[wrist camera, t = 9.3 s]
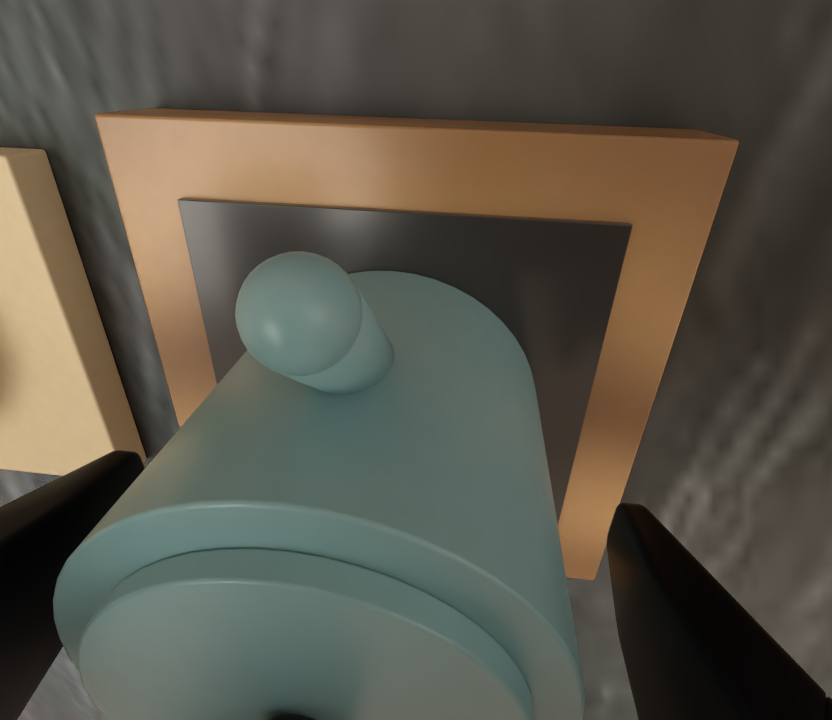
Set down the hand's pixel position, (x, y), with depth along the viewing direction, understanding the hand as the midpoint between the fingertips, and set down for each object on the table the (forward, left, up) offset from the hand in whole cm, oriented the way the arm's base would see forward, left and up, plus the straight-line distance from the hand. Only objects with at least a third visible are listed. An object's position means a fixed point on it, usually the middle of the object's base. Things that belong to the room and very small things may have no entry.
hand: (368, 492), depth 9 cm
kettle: (0, 0, -3) cm, 3 cm away
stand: (0, 0, -5) cm, 5 cm away
